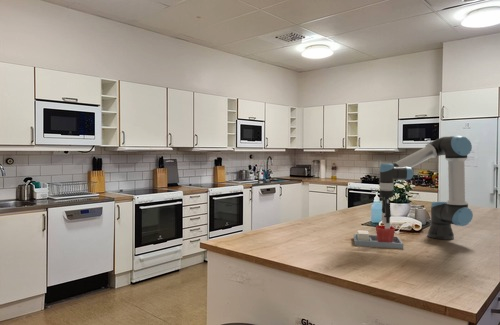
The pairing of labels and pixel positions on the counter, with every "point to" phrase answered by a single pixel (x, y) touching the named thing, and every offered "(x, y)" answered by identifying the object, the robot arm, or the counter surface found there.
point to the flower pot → (385, 234)
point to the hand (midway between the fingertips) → (385, 226)
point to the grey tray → (374, 242)
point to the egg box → (362, 235)
